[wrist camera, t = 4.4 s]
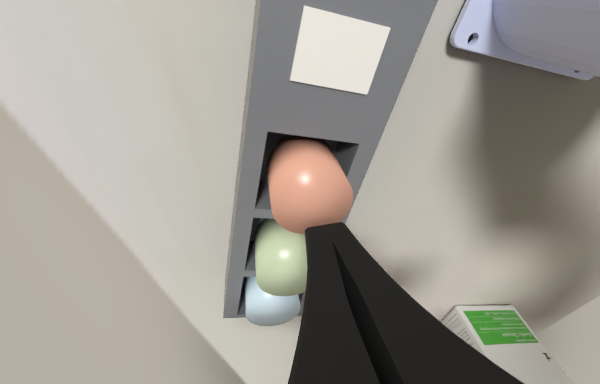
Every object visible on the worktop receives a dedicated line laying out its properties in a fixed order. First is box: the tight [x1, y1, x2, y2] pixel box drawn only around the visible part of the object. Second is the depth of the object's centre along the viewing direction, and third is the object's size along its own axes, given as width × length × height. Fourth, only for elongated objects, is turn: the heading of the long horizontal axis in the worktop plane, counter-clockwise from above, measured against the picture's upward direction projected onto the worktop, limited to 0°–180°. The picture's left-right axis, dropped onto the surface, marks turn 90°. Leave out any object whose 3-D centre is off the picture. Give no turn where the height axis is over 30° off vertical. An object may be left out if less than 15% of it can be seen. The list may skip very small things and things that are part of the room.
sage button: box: [254, 218, 307, 296], centre depth 16 cm, size 4×4×3 cm
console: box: [223, 0, 438, 318], centre depth 16 cm, size 6×20×3 cm, turn 167°
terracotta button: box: [266, 136, 353, 234], centre depth 13 cm, size 4×4×3 cm
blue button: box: [245, 277, 301, 326], centre depth 19 cm, size 4×4×3 cm
